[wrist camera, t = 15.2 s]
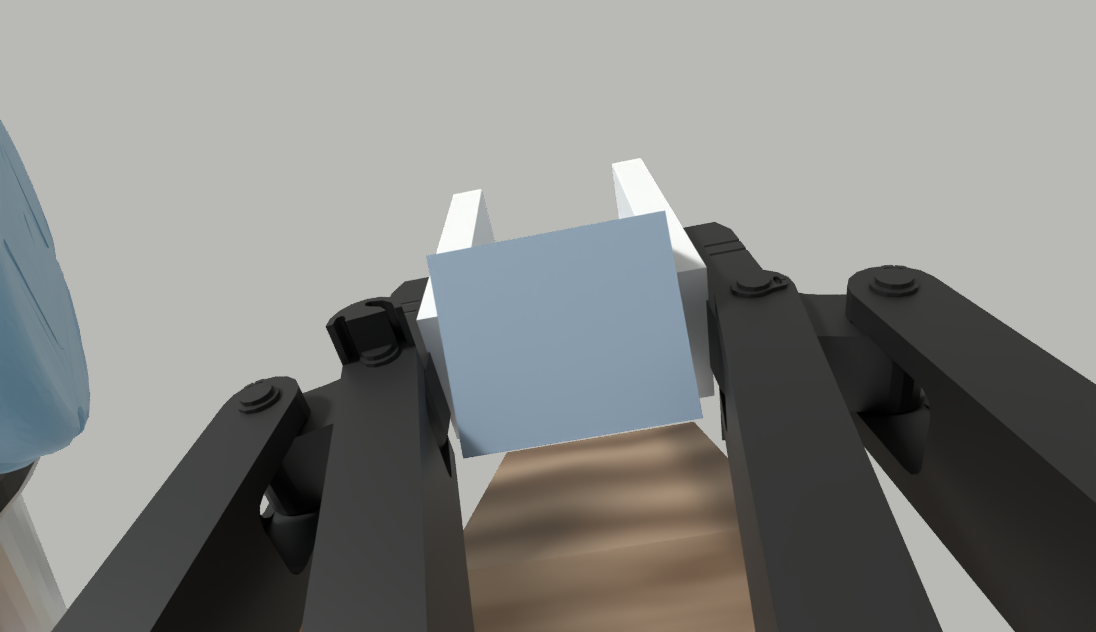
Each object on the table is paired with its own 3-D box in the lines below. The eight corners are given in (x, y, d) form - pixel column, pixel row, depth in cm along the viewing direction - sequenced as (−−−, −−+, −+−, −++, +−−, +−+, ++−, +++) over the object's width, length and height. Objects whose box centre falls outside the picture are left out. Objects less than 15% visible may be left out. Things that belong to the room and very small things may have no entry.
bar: (702, 417, 9) (664, 210, 9) (462, 458, 9) (426, 256, 9) (616, 338, 33) (606, 283, 33) (552, 349, 33) (542, 295, 33)
